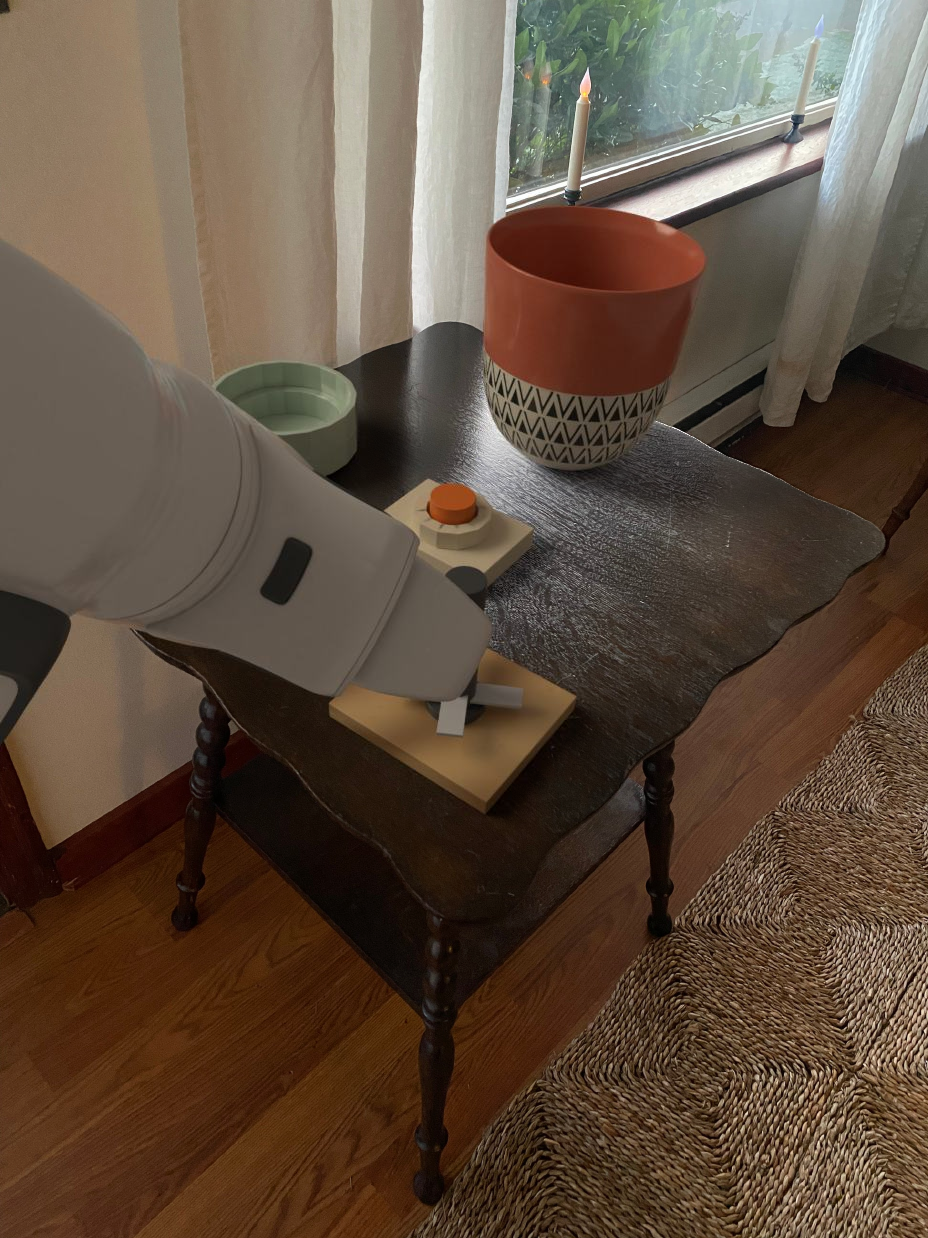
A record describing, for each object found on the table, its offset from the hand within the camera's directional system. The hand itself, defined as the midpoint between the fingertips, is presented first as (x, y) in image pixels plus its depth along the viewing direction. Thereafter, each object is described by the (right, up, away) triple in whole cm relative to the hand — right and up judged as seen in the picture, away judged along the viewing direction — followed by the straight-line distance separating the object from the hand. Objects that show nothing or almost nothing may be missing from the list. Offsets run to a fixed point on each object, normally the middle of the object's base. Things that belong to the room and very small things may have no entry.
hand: (341, 591), depth 45 cm
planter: (+17, +16, +49) cm, 54 cm away
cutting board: (+5, -8, +22) cm, 24 cm away
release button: (+5, +8, +34) cm, 35 cm away
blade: (+6, -8, +20) cm, 23 cm away
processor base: (+5, +5, +36) cm, 37 cm away
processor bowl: (-12, +16, +46) cm, 50 cm away
